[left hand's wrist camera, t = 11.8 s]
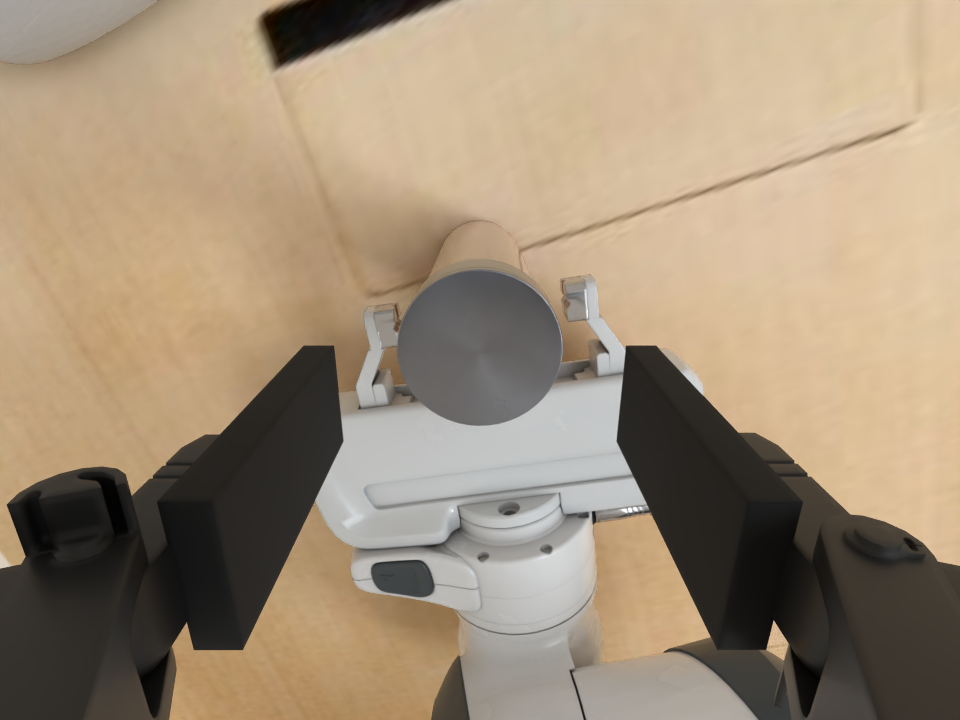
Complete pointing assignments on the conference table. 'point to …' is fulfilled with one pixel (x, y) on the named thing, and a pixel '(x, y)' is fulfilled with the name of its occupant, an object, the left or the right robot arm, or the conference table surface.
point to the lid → (480, 343)
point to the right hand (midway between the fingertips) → (478, 292)
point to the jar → (479, 246)
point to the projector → (58, 26)
